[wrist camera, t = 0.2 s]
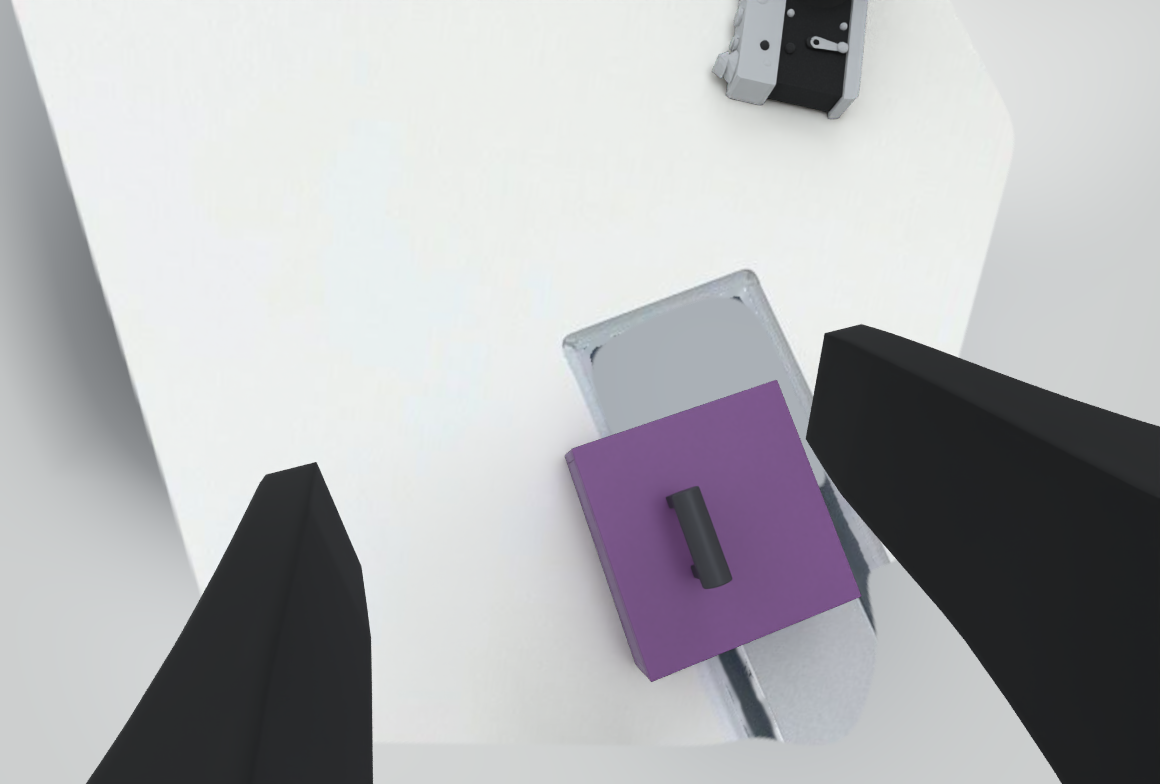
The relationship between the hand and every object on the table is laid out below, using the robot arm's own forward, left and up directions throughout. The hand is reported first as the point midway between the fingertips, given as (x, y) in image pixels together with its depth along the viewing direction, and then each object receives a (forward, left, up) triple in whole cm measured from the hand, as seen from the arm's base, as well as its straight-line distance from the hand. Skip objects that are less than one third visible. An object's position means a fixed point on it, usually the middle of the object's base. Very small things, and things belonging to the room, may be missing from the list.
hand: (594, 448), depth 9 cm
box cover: (-5, -10, -29) cm, 31 cm away
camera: (+27, -29, -32) cm, 52 cm away
